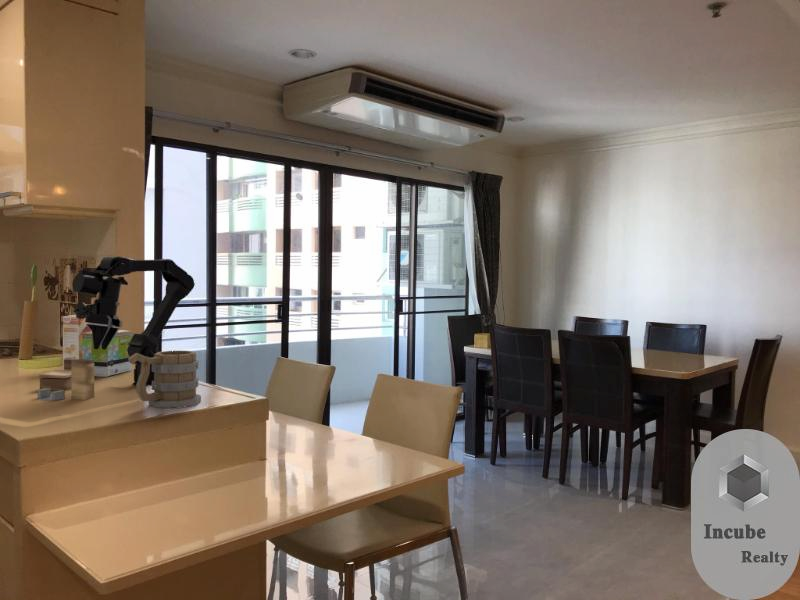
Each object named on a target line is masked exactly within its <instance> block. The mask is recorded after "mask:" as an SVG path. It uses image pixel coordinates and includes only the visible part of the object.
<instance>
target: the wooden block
mask: <svg viewBox="0 0 800 600" xmlns="http://www.w3.org/2000/svg"><path fill="white" fill-rule="evenodd" d="M71 381H72V389H71V400H80V401H81V400H82V401H84V400H88V399H92V398H95V376H94V359H78V360H72V361H71Z"/></svg>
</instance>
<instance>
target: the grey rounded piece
mask: <svg viewBox="0 0 800 600" xmlns="http://www.w3.org/2000/svg"><path fill="white" fill-rule="evenodd" d="M65 397H66V392H65V391H64V390H53V391H52V390H51V389H50V388H46V389H40V388H39V389H37V400H38V401H41V402H45V401H46V402H47V401H49V402H51V401H59V400H64V399H66V398H65Z"/></svg>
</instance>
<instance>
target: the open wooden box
mask: <svg viewBox="0 0 800 600" xmlns="http://www.w3.org/2000/svg"><path fill="white" fill-rule="evenodd" d="M46 388H50V389H51V391H60V390H64V391H70V390H72V381H71V377H69V378H39V390H40V389H46Z"/></svg>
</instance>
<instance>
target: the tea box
mask: <svg viewBox="0 0 800 600" xmlns="http://www.w3.org/2000/svg"><path fill="white" fill-rule="evenodd" d="M132 337H133V330H124V329H122V330H121V329H120V330H119V331H118V332H117V334H116V335H115V336H114V338H113V339H112V341H111V343H110V344H109V346H108V347H107V349H106V350H104V349H102V343H101V345H100V347H99V349H94V344H93V335H92V332H88V333H83V337H82V359H94V377H103V378H107V377H109V376H113V375H117V374H122V373H127V371H128V372H131V371H132V370H133V364H131V363H130V362H129V360H128V358H129V355H128V352H127V348H128V346H129V345H128V343H129V342H130V341H131V339H132Z"/></svg>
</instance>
